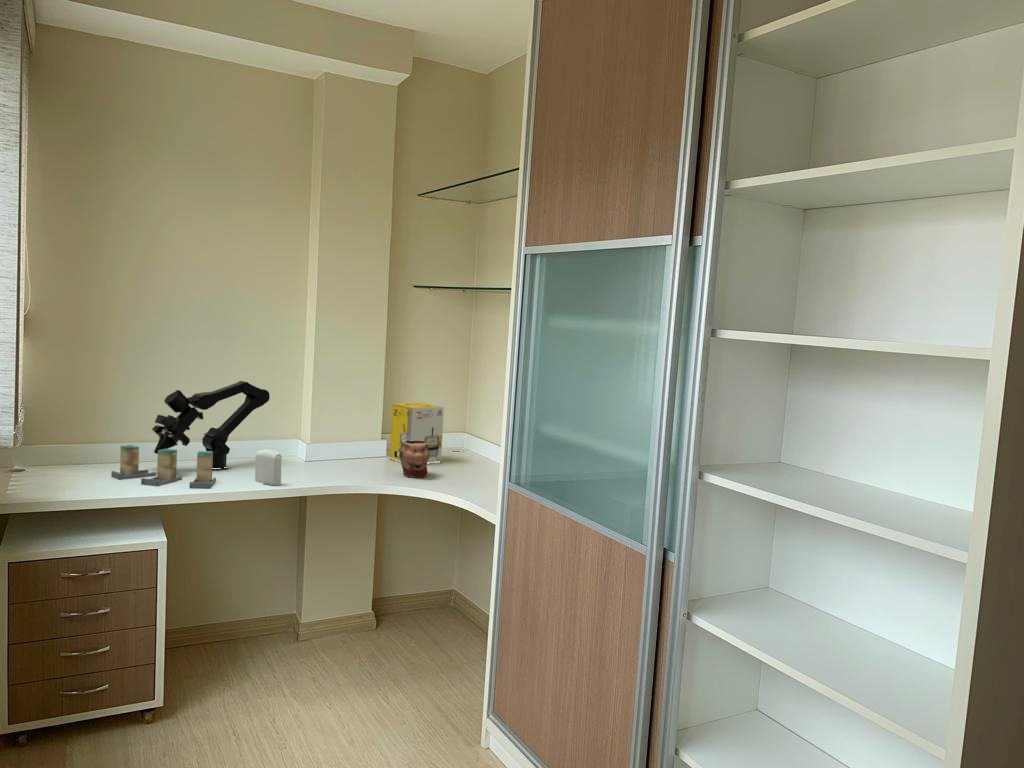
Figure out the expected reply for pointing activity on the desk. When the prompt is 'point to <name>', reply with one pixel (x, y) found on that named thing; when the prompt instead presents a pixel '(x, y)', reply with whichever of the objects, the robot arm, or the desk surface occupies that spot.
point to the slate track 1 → (140, 474)
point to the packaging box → (417, 427)
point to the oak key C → (204, 466)
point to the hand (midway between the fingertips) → (155, 452)
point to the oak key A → (129, 460)
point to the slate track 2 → (158, 481)
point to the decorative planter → (414, 458)
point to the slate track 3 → (202, 484)
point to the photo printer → (268, 467)
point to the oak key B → (166, 464)
